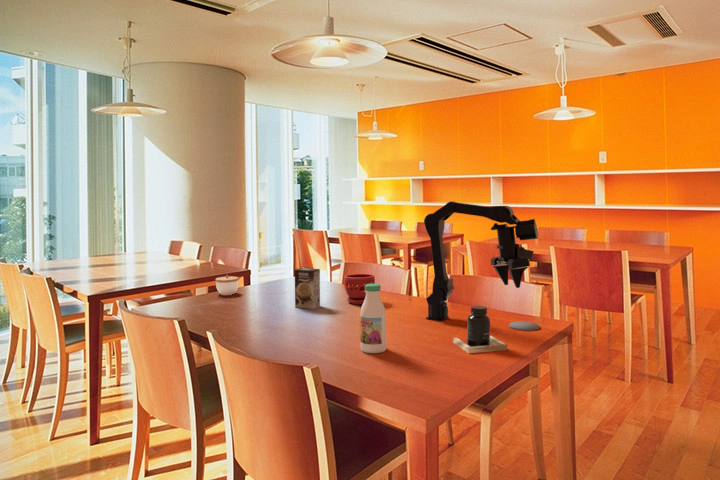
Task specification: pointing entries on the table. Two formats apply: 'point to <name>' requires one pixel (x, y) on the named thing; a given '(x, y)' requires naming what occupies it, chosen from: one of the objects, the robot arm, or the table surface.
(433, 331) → the table surface
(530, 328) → the coaster
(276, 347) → the table surface
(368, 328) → the milk bottle
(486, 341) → the supplement bottle
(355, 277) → the plant pot
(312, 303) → the coffee box
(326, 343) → the table surface
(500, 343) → the pocket
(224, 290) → the lidded jar
